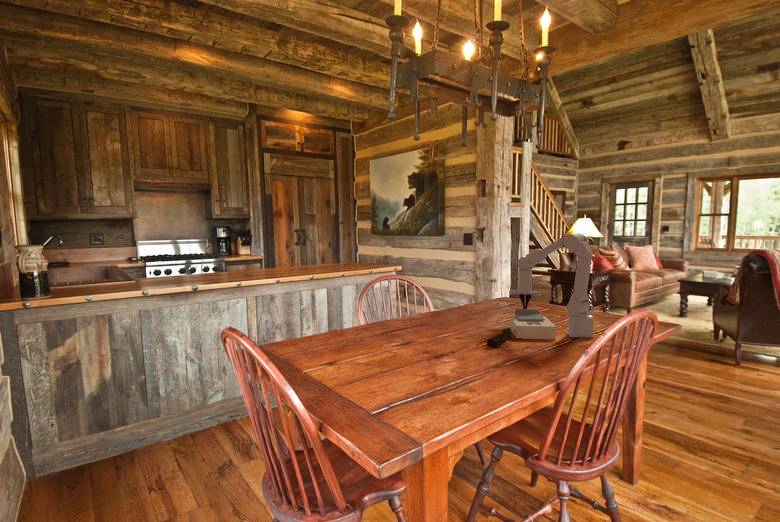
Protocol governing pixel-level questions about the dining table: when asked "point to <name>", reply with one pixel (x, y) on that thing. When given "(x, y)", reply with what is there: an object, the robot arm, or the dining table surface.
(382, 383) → the dining table surface
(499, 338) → the hand tool
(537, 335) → the housing
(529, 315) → the cover
